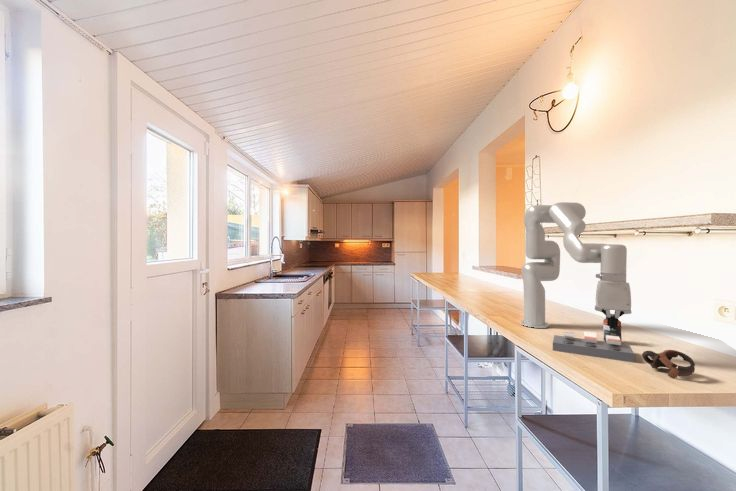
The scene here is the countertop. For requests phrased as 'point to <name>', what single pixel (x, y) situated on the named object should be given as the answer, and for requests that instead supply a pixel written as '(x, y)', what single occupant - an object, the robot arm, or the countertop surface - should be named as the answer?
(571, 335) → the rocker
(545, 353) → the countertop surface
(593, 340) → the rocker middle
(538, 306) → the robot arm
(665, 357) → the brown linked rings
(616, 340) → the rocker
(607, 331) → the supplement bottle
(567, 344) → the power strip
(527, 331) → the countertop surface
